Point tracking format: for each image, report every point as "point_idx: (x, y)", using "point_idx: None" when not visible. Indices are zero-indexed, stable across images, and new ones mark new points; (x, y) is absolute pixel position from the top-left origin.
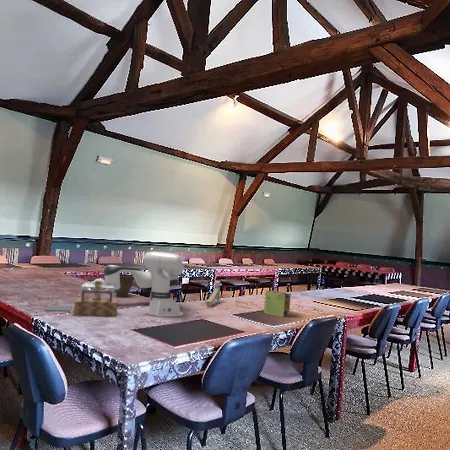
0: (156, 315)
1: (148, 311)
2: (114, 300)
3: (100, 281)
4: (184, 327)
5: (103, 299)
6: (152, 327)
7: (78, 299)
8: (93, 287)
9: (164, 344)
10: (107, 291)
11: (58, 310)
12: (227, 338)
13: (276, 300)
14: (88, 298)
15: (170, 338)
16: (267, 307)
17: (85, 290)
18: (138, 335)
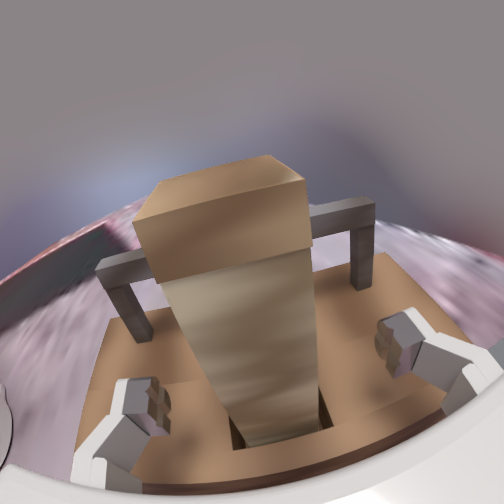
0: (3, 394)
1: (2, 427)
2: (107, 391)
3: (178, 182)
4: (23, 300)
5: (202, 409)
6: (81, 281)
7: (417, 305)
8: (412, 438)
9: (113, 222)
10: (140, 251)
11: (497, 344)
12: (19, 268)
13: None
14: (377, 388)
15: (89, 241)
16: None
17: (339, 202)
18: (135, 234)
